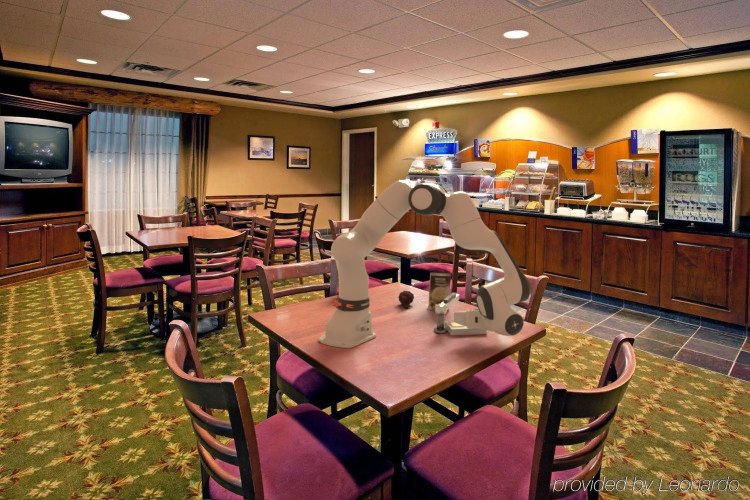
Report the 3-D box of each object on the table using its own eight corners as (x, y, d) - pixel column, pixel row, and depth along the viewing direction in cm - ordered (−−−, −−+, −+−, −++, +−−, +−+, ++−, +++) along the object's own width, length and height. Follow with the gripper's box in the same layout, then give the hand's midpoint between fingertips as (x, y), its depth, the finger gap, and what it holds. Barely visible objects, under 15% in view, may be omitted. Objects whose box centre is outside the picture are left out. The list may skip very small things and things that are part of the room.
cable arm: (444, 314, 167) (445, 305, 167) (433, 313, 169) (433, 303, 169) (461, 300, 187) (461, 291, 186) (451, 299, 189) (451, 290, 188)
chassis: (451, 335, 168) (451, 328, 167) (444, 327, 176) (444, 320, 176) (486, 334, 170) (486, 327, 169) (478, 326, 178) (478, 319, 178)
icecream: (398, 287, 213) (394, 298, 199) (413, 284, 212) (410, 295, 197) (401, 300, 215) (398, 312, 200) (416, 297, 213) (414, 309, 199)
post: (444, 334, 168) (445, 315, 167) (431, 332, 171) (432, 313, 169) (448, 330, 173) (449, 312, 171) (436, 328, 175) (436, 310, 174)
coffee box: (428, 310, 198) (429, 275, 195) (428, 306, 204) (429, 272, 202) (449, 311, 197) (450, 276, 195) (448, 307, 204) (449, 273, 201)
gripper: (515, 306, 158) (496, 301, 172) (463, 311, 153) (447, 306, 167) (516, 323, 158) (496, 318, 172) (464, 329, 153) (448, 323, 167)
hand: (471, 312), depth 169 cm, fingers closed
